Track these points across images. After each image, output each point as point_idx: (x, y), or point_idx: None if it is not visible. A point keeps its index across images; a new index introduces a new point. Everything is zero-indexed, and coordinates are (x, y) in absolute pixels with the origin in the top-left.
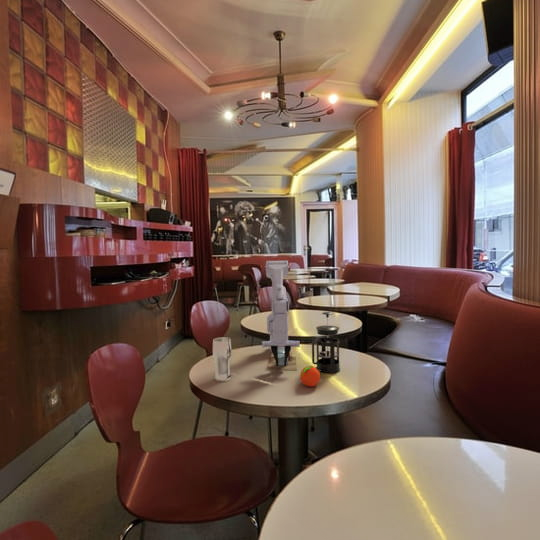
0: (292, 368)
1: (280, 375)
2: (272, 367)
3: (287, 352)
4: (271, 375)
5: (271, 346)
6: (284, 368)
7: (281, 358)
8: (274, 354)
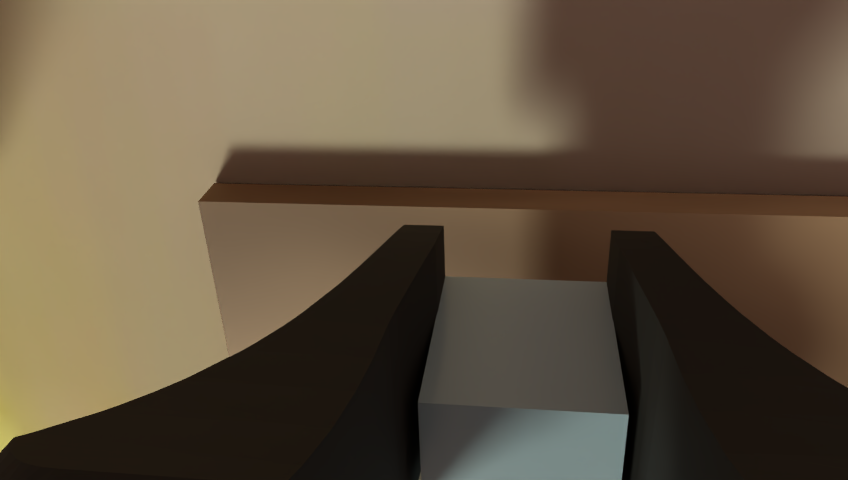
0: None
1: (553, 25)
2: None
3: (196, 419)
4: (773, 27)
5: None
6: None
7: (512, 390)
8: (842, 408)
